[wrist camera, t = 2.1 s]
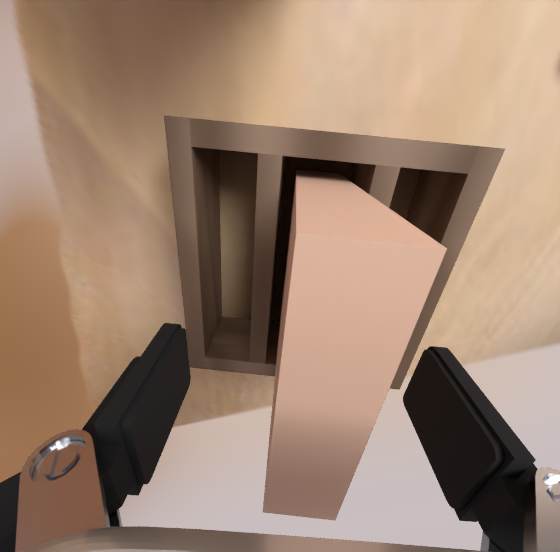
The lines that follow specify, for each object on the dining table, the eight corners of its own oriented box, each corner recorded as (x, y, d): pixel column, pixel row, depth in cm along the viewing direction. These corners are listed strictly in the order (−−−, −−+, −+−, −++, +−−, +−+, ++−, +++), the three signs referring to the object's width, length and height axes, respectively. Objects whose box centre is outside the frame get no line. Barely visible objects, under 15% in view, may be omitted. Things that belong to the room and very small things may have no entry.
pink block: (339, 174, 18) (447, 248, 5) (314, 317, 23) (335, 520, 11) (296, 169, 18) (296, 233, 5) (280, 313, 23) (262, 512, 11)
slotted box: (448, 147, 16) (505, 148, 12) (380, 343, 24) (399, 389, 20) (199, 123, 17) (164, 115, 12) (209, 326, 24) (189, 367, 20)
